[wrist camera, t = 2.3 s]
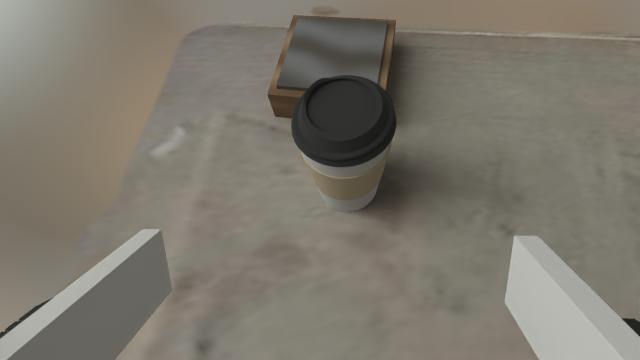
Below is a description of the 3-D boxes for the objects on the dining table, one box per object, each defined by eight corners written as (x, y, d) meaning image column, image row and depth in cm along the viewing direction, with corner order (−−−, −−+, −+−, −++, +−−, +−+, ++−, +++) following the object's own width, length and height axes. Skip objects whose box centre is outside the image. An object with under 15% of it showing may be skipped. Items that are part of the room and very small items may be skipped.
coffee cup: (403, 178, 42) (421, 93, 29) (354, 237, 39) (349, 172, 26) (343, 139, 45) (334, 46, 32) (294, 190, 43) (263, 112, 30)
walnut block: (298, 40, 54) (292, 11, 50) (393, 46, 51) (396, 16, 47) (275, 116, 48) (266, 91, 44) (381, 127, 46) (383, 101, 41)
